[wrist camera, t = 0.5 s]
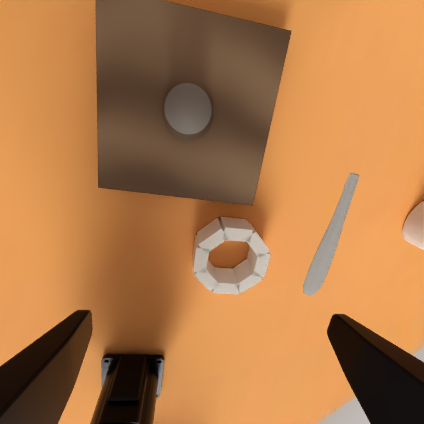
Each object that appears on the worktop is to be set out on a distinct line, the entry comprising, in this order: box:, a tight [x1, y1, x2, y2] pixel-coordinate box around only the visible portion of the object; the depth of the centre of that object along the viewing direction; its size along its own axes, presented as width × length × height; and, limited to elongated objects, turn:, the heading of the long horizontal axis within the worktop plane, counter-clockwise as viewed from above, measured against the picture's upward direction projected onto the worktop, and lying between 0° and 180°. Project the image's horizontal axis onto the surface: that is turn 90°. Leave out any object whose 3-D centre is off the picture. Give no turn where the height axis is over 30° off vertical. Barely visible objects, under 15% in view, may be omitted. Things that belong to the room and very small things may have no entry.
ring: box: [192, 217, 271, 294], centre depth 20 cm, size 6×6×2 cm
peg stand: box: [96, 0, 291, 206], centre depth 14 cm, size 12×12×6 cm
